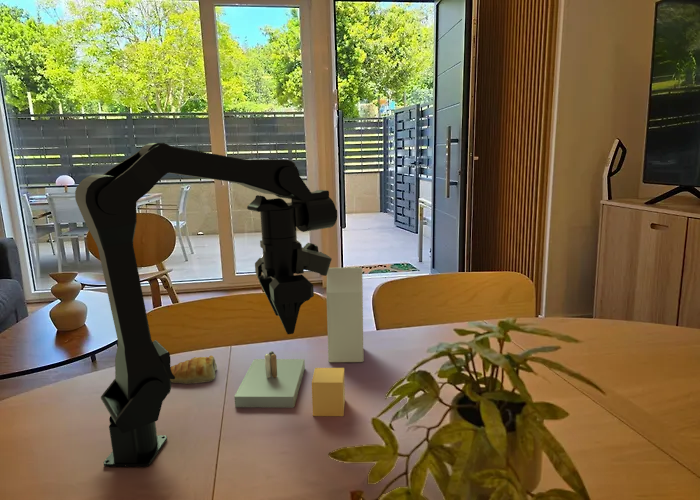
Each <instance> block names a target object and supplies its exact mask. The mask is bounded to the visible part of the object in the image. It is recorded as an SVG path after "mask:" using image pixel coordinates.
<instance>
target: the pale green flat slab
mask: <svg viewBox="0 0 700 500" xmlns="http://www.w3.org/2000/svg"><path fill="white" fill-rule="evenodd" d="M305 364H306V363H305V358H286V359H285V358H277V354H276V353H275V352H274V351H269V353H266V354H265V355H264V358H254V359H253V361H252V363H251V364H250V367H249V368H248V370H247V372H246V374H245V376H243V377H244V378H243V380H242V382H241V383H240V385H239V387H238V389H237V391H236V392H235V394H234V407H235V408H295V405H296V401H297V398H298V394H299V390H300V388H301V385H302V380H303V377H304V373H305V368H306V365H305Z"/></svg>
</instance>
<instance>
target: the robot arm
mask: <svg viewBox="0 0 700 500" xmlns="http://www.w3.org/2000/svg"><path fill="white" fill-rule="evenodd" d="M167 174H174V175H180V176H187V177H192V178H193V177H196V178H202V179H208V180H215V181H220V182H221V181H222V182H223V181H224V182H230V183H234V184H237V185H240V186H242V187H245V188H247V189H250V190H252V191H256V192H259V193H262V194H268V195H273V196H275V197H276V198H269V199H268V198H266V197H265V196H264V195H258V194H257V195H256V196H255V198H254V199H253V200H252V201H251V202H250V203H248V205H247V207H246V209H247V210H248V211H252V212H257V213H260V215H259V216H260V227H261V239H262V240H259V244H260V245H259V246H260V248H262V249H261V250H262V257H259V258H258V259H257V261H256V262H255V263H254V269H255V271H254V272H255V274H256V276H257V277H256V278H257V279H258V282H259V284H260V287H261V288H262V290H263V292H264V294H265V295H266V297H267V300H268V303H269V304H270V306H271V308H272V311H273V312H274V315H275V316H277V317H279V320H280V321H281V324H282V326H283V328H284V331H285V332H286V334H287V335H293V334H295V330H296V327H297V322H298V318H299V314H300V313H299V312H300V310H301V306H302V305H303V304H305V302H308V301H309V300H310V299H311V298H313V297H314V295H315V293H314V284H313V283H312V282H311V281H310V280H309V279H308V278H307V277H306V276H304V275H303V274H305V273H304V272H305V271H307V272H308V271H309V272H312V273H316V274H319V275H320V276H326V277H327V273H328V269H329V268H330V267H331V263H332V257H331V256H329V255H328V254H325V253H324V252H322V251H319V247H318V245H317V244H315V243H312V242H307V243H306V244H305V245H304V246H302V243H301V242H299V241H298V240H297V238H298V237H297V236H298V235H297V229H298V231H300V232H302V233H304V232H305V233H306V232H312V231H317V230H323V229H329V228H330V229H331V228H333V227H334V226H335V225H336V224H337V220H338V210H337V208H336V205H335V202H334V200H333V199H332V198H331V197H330V191H329V190H327V189H317V190H314V191H311V190H310V189H309V187H308V186H307V184H306V183H305V182H304V180H303V179H302V177H301V176H300V171H299V169H298V167H297V165H296V163H295V162H294V161H292V160H291V159H288V158H239V157H233V156H227V155H223V154H216V153H212V152H211V153H210V152H206V151H205V152H204V151H199V150H193V149H187V148H183V147H177V146H173V145H169V144H167V143H166V142H165V143H164V142H152V143H151V142H149V143H147V144H145V145H143V146H142V147H141V148H140V149H139V150H138V151H137V152H135V153H134V154H133V155H131V156H128V158H126V159H124V160H123V161H121V162H119V163H118V164H116V165H114V166H113V167H111V168H109V170H107V171H106V172H104V173H103V174H91V175H88V176H86V177H85V178H83V179H82V180H81V181H80V182H79V184H78V185H77V186H76V187H75V192H74V193H75V194H74V195H75V202H76V205H77V207H78V209H79V212H80V214H81V215H82V218H83V220H84V223H85V225H86V227H87V229H88V231H89V233H90V234H91V237H92V239H93V240H94V243H95V244H96V247H97V250H98V254H99V259H100V263H101V268H102V273H103V277H104V278H103V279H104V283H105V287H106V292H107V296H108V301H109V302H108V303H109V306H110V311H111V315H112V321H113V324H114V329H115V333H116V338H117V348H116V353H115V360H114V362H115V365H114V366H115V368H114V369H115V371H114V374H115V378H114V379H113V380H112V382H111V383H110V384H109V386H108V387H107V388H106V389H105V391H104V392H103V394H101V396H100V399H101V401H102V403H103V405H104V407H105V409H106V410H107V412H108V413H109V415H110V416H109V419H108V420H109V425H108V429H109V435H110V442H111V443H110V444H111V450H112V451H111V452H110V454H109V455H107V457H106V459H104V461H103V466H104V467H119V468H120V467H122V468H123V467H124V468H125V467H126V468H129V467H132V468H134V467H135V468H136V467H137V468H146V467H149V466H150V465H151V464H152V462H153V461H154V459H155V458H156V456H157V455H158V454H159V452H160V450H162V447H164V445H165V443H166V442H167V440H168V436H167V435H158V433H157V424H156V422H157V421H158V420H159V418H160V414H161V409H162V405H163V402H164V401H165V399H166V398H167V396H168V395H169V394H170V393H171V389H172V382H171V381H170V379H175V376H174V375H173V374H172V371H171V353H170V352H169V351H168V350H167V349H166V347H164V346H163V345H162V344H161V343H160V342H159V341H158V340H156V339H155V340H154V341H153V340H152V336H151V335H152V334H151V332H150V331H151V330H150V325H149V320H148V315H147V310H146V305H145V299H144V295H143V289H142V285H141V284H142V283H141V279H140V274H139V270H138V269H139V268H138V264H137V259H136V253H135V248H134V238H135V233H136V228H137V218H138V217H137V208H138V207H137V202H138V201H139V200H140V199H142V197H144V196H145V195H147V194H148V193H149V192H150V191H151V190H152V189H153V188H154V187H155V186H156V184H157V183H158V182H159V181H161V180H162V178H163V177H165V175H167ZM284 199H289V200H291V201H290V202H286V200H284Z"/></svg>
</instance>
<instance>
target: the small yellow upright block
mask: <svg viewBox="0 0 700 500" xmlns="http://www.w3.org/2000/svg"><path fill="white" fill-rule="evenodd" d="M345 381H346V379H345V367H314V371H313V374H312V379H311V399H312V400H311V401H312V402H311V403H312V416H313V417H344V415H345V404H346V397H345V396H346V392H345V391H346V389H345V386H346V384H345V383H346V382H345Z"/></svg>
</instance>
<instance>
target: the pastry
mask: <svg viewBox="0 0 700 500" xmlns="http://www.w3.org/2000/svg"><path fill="white" fill-rule="evenodd" d="M170 367H171V371H172V374H173V375H174V376H175V379H170V381H171V384H172V383H173V384H175V383H176V384H177V383H178V384H185V385H189V384H197V383H198V384H199V383H207V382H212V381H214V379H215V378H216V371H217V369H218V367H217V363H216V359H215V357H214V356H213V355H209V356H199V357H196V356H195V357H192V358H191V359H187V360H185V361H179V363H177V364H174V365H172V366H171V365H170Z"/></svg>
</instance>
